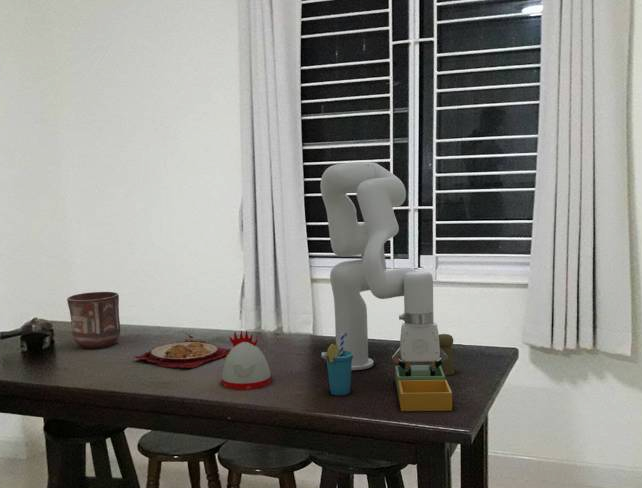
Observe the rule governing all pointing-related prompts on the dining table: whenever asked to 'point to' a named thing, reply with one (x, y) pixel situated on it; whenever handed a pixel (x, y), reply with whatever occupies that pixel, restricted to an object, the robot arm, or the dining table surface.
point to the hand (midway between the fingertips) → (420, 384)
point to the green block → (420, 370)
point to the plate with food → (184, 354)
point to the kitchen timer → (245, 365)
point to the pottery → (95, 319)
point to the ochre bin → (424, 395)
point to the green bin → (401, 376)
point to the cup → (339, 368)
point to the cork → (447, 353)
